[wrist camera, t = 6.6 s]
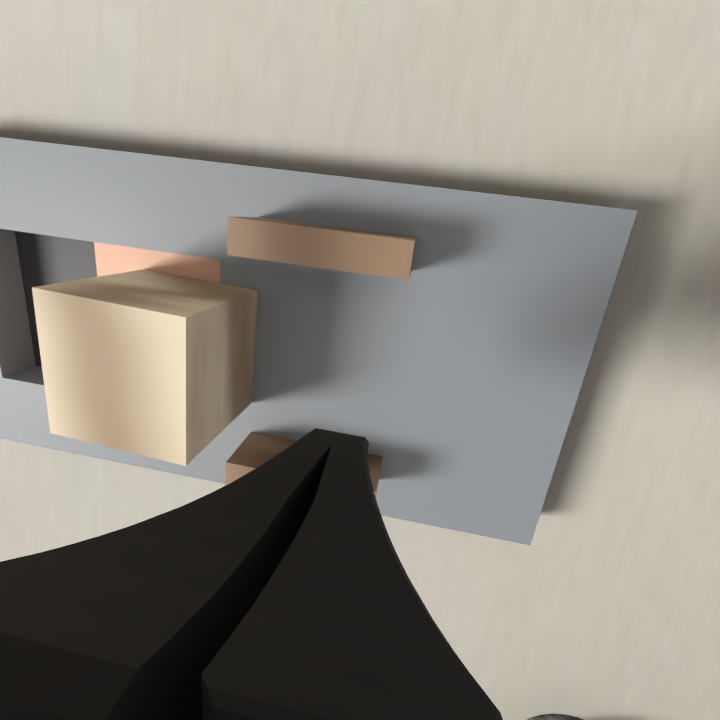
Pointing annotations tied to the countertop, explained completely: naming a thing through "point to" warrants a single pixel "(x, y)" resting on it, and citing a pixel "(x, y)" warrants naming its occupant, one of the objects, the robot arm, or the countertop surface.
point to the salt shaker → (553, 717)
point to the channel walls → (320, 251)
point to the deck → (341, 317)
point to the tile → (153, 262)
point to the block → (146, 360)
